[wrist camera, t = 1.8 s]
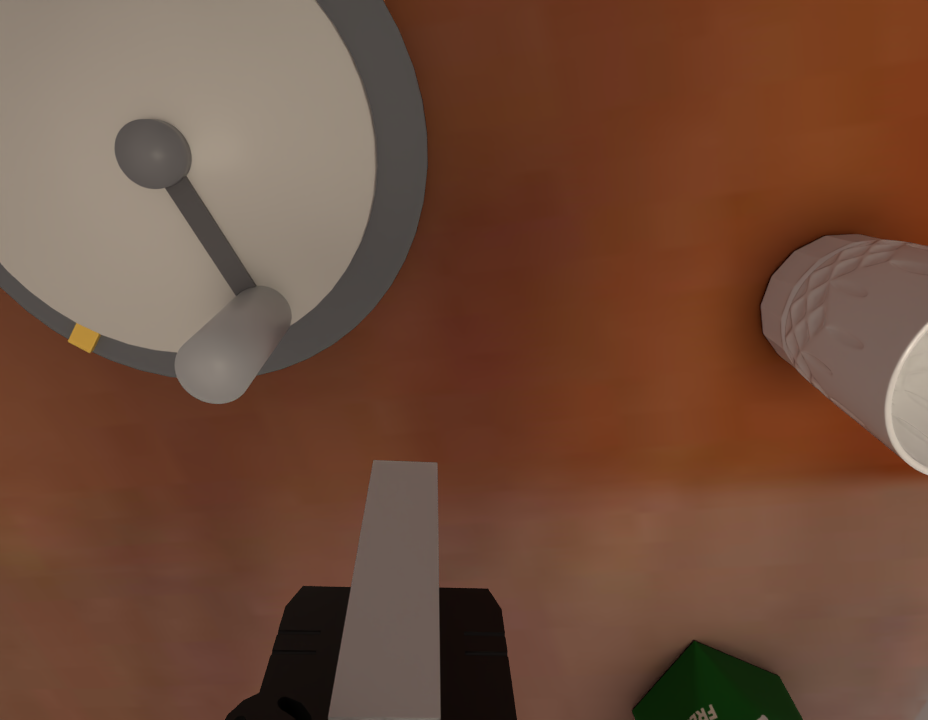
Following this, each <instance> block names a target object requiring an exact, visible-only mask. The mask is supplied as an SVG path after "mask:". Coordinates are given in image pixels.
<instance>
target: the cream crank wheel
mask: <svg viewBox="0 0 928 720" xmlns="http://www.w3.org/2000/svg"><path fill="white" fill-rule="evenodd" d="M377 168H378V162H377V139H376V133H375V127H374V121H373V115H372V110H371V106H370V103H369V100H368V96H367V93H366V89H365V86H364V83H363V80H362V78H361V75H360V73H359V71H358V68H357V66H356V64H355V61H354V59H353V57H352V54H351V53H350V51H349V49H348V47H347V46H346V44H345V42H344V40H343V39H342V37H341V35H340V33H339V32H338V30H337V28H336V26H335V25H334V24H333V22H332V21H331V20H330V18H329V17H328V16H327V14H326V13H325V11H324V10H323V9H322V7H321V6H320V5H319V3H318V2H317V1H316V0H0V263H1V264H2V265H3V267H4V268H5V269H6V270H7V271H8V272H9V273H10V274H11V275H12V276H13V277H15V278H16V279H17V280H18V281H19V282H20V283H21V284H22V285H23V286H24V287H25V288H26V289H28V290H29V291H30V292H31V293H33V294H34V295H35V296H37V297H38V298H39V299H41V300H42V301H43V302H45V303H46V304H47V305H49V306H50V307H51V308H53V309H54V310H56V311H57V312H59V313H61V314H62V315H64V316H66V317H68V318H69V319H71V320H73V321H74V322H76V323H78V324H80V325H82V326H84V327H86V328H88V329H90V330H92V331H95V332H97V333H99V334H101V335H103V336H106V337H109V338H112V339H115V340H118V341H121V342H124V343H127V344H130V345H134V346H139V347H143V348H148V349H152V350H159V351H168V352H177V355H176V358H175V372H176V376H177V378H178V380H179V382H180V384H181V385H182V387H183V388H184V389H185V390H186V391H187V392H188V393H189V394H191V395H192V396H193V397H195V398H197V399H199V400H201V401H204V402H207V403H213V404H223V403H228V402H231V401H234V400H236V399H237V398H239V397H240V396H242V395H243V393H244V392H245V391H246V390H247V388H248V387H249V385H250V384H251V382H252V381H253V380H254V378H255V377H256V375H257V374H258V372H259V371H260V369H261V368H262V366H263V365H264V364H265V362H266V361H267V359H268V358H269V356H270V355H271V353H272V352H273V350H274V349H275V348H276V346H277V345H278V343H279V342H280V340H281V339H282V337H283V336H284V334H285V333H286V332H287V330H288V329H289V327H290V325H292V324H294V323H296V322H297V321H298V320H300V319H301V318H302V317H303V316H305V315H306V314H307V313H308V312H310V311H311V310H312V309H314V308H315V307H316V306H317V305H318V304H319V303H320V302H321V301H322V299H323V298H324V297H325V296H326V295H327V294H328V293H329V292H330V291H331V290H332V289H333V287H334V286H335V285H336V283H337V282H338V280H339V279H340V278H341V276H342V275H343V273H344V272H345V271H346V269H347V267H348V266H349V264H350V262H351V260H352V258H353V256H354V255H355V253H356V251H357V249H358V247H359V245H360V243H361V241H362V239H363V236H364V233H365V230H366V228H367V225H368V222H369V219H370V216H371V211H372V206H373V202H374V197H375V193H376V180H377Z"/></svg>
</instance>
